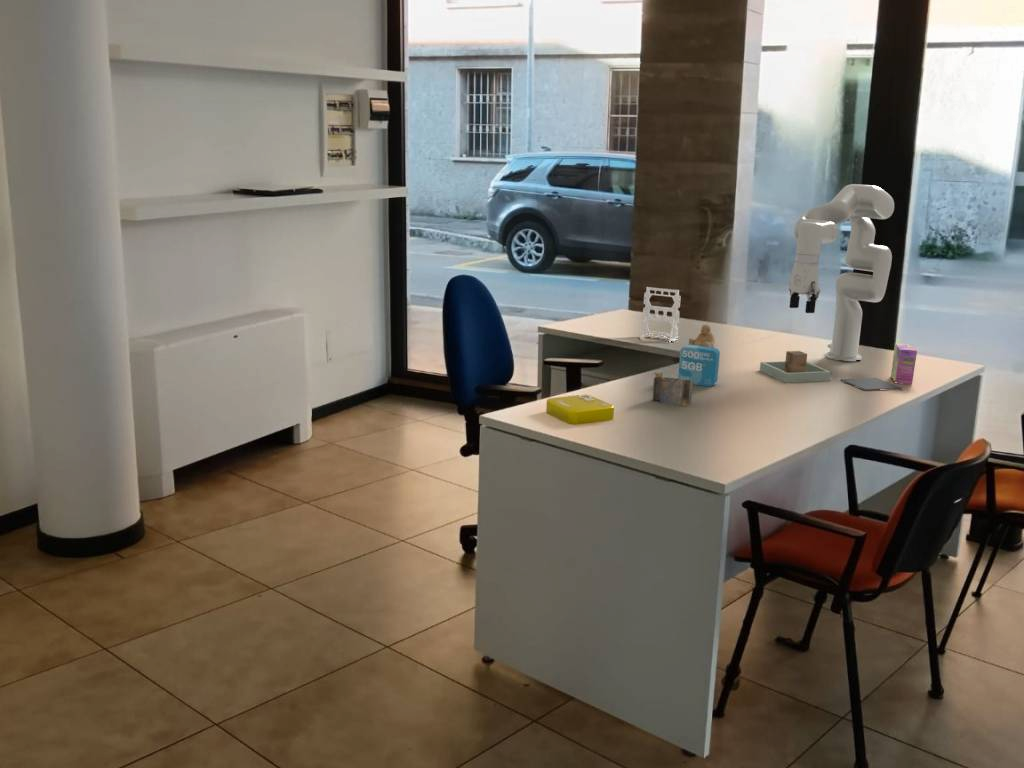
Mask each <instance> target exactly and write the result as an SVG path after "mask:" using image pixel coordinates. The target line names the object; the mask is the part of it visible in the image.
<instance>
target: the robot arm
mask: <svg viewBox="0 0 1024 768" xmlns="http://www.w3.org/2000/svg"><path fill="white" fill-rule="evenodd" d="M894 211H895V201H894V199H893V197H892V196H891V195H890V194H889V193H888V192H887V191H885V189H882V188H881V187H879V186H877V185H874V184H873V185H871V184H858V183H857V184H856V183H852V184H851V183H850V184H848V185H844V186H843V188H842V189H841V190H840V191H839V192H838V193H837V194H836V195H835V196H834V197H833V199H831V200H830V202H827V203H824V204H821V205H818V206H815V207H813V208H810V209H808V210H806V211H805V212H804V213H803V214H802V215H801V216H800V218H799V219H798V220H797V221H796V223H795V226H794V229H793V230H794V231H793V232H794V233H793V234H794V237H795V238H796V239H797V242H796V243H797V244H796V252H795V261H794V263H793V267H792V269H791V276H790V281H788V286H789V288H788V290H789V296H790V297H789V308H790V309H798V308H799V305H800V295H805V296H806V299H807V300H806V302H805V303H806V304H805V314H814V313H816V312H815V310H816V302H817V301H818V298H819V295H820V292H821V289H820V287H819V286H818V285H819V263H820V262H819V261H820V254H821V244H826V245H827V244H828V245H829V244H832V243H834V242H835V241H836V240H837V239H838V236H839V233H840V232H839V226H838V225H839V224H842V223H845V222H846V221H848V220H849V223H850V224H849V225H850V234H849V235H850V236H849V240H848V245H847V250H846V254H845V265H846V266H847V267H848V268H850V269H853V270H859V271H866V272H872V274H867V273H866V274H865V273H859V272H844V273H843V272H842V273H841V274H840V275H838V277H837V278H836V280H835V285H834V286H835V311H834V320H833V321H834V322H833V329H832V338H831V343H830V344H827V348H828V349H829V351H827V352H826V353H825V356H826V357H827V358H828V359H830V360H835V361H839V360H844V361H843V362H857V361H856V360H860V361H862V359H863V358H862V357H863V356H862V355H861V354H859V345H860V338H861V337H860V336H861V330H862V329H861V328H862V327H861V326H862V320H863V309H862V307H861V304H860V302H859V301H861V302H869V303H879V302H881V301H882V300H883V298H884V297H885V294H886V290H887V286H888V280H889V276H890V273H891V272H890V271H891V268H892V259H893V255H892V251H891V249H890V248H889V247H888V246H886V245H881V244H880V245H878V244H875V243H874V242H875V236H876V228H875V225H874V223H873V221H872V220H871V219H875V220H876V219H877V220H886V219H889V218H890V217H891V216H892V215H893V213H894Z"/></svg>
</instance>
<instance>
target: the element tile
mask: <svg viewBox="0 0 1024 768" xmlns="http://www.w3.org/2000/svg"><path fill="white" fill-rule="evenodd" d="M545 407H546V409H545V411H546V412H545V413H546V414H547V415H550V416H552V417H554V418H555V419H558V420H559V421H562V422H564V423H566V424H567V425H575V426H578V425H584V424H594V423H599V422H600V423H601V422H607V421H613V420H614V416H615V415H614V410H615V406H614V405H613V404H611V403H609V402H606V401H604V400H601V399H600V398H598V397H595V396H592V395H590V394H578V395H577V394H576V395H567V396H559V397H550V398H548V399H546V406H545Z"/></svg>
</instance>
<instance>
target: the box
mask: <svg viewBox="0 0 1024 768" xmlns="http://www.w3.org/2000/svg"><path fill="white" fill-rule="evenodd" d="M917 354H918V351H917V349H916V347H915V346H914V345H913V344H911V343H910V344H909V343H899V342H895V343H894V349H893V358H892V364H891V370H890V377H891V376H892V377H891V378H893V379H892V380H893V382H894V381H895V382H897V383H896V384H899V383H903V384H902V385H911V384H912V385H913V382H914V381H913V380H914V374H915V369H916V368H915V366H916V361H917ZM895 382H894V383H895Z"/></svg>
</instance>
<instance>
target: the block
mask: <svg viewBox="0 0 1024 768" xmlns="http://www.w3.org/2000/svg"><path fill="white" fill-rule="evenodd" d="M807 360H808V354H807V353H806V352H803V351H800V350H789V351H788V350H787V351H786V352H785V370H784V371H785V372H787V373H796V372H806V362H808V361H807Z"/></svg>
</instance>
